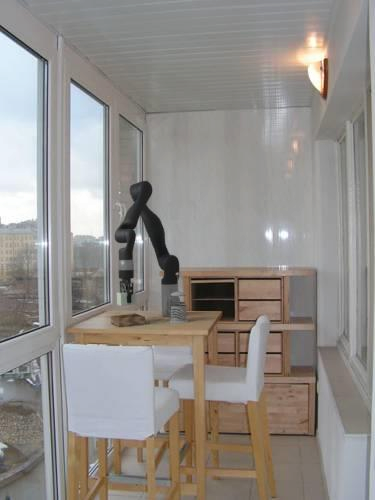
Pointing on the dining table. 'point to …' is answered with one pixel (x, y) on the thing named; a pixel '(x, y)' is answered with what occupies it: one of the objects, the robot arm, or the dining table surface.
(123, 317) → the brown flat block
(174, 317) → the french press
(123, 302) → the small crate
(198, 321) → the dining table surface
